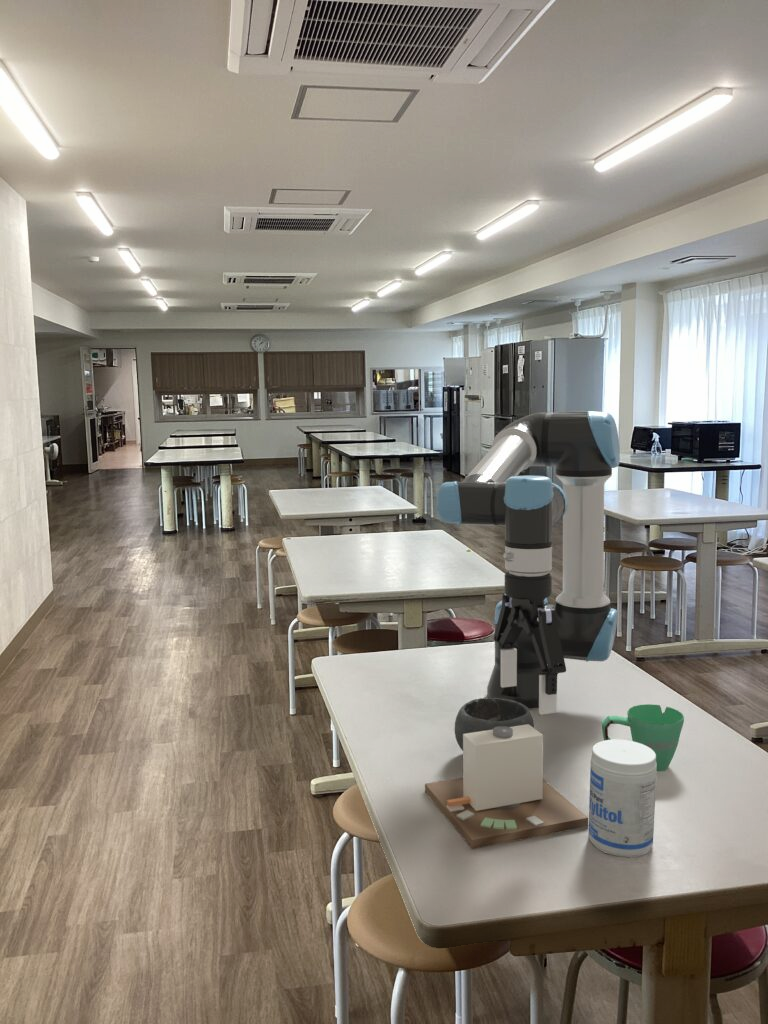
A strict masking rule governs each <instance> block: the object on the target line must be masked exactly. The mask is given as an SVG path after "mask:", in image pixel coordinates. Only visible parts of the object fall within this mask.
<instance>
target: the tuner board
mask: <svg viewBox="0 0 768 1024" xmlns="http://www.w3.org/2000/svg"><path fill="white" fill-rule="evenodd" d="M424 792H425V794H426V795H427V796H428V797H429V798H430V800H431V802H433V804H434V805H435V806H436V807H437V808H438V809H439V811H440V812H441V813H442V814H443V815H444V817H445V818H446V819H447V820H448V822H449V823H450V824H451V825H452V826H453V828H454V829H455V831H456V832H458V834H459V835H460V836H461V838H462V839H463V840H464V841H465V842H466V844H467V845H468V846H469V847H470V848H471V850H475V849H481V848H484V847H491V846H495V845H496V846H497V845H500V844H502V845H503V844H507V843H511V842H515V841H521V840H526V839H532V838H536V837H542V836H547V835H551V834H556V833H562V832H568V831H573V830H577V829H578V830H579V829H583V828H589V816H587V815H586V814H585V813H583V811H581V809H579V808H578V807H577V806H576V805H574V804H573V803H572V802H570V800H568V799H567V798H566V797H565V796H564V795H562V794H561V793H560V792H559V791H558V790H557V789H555V788H554V787H553V786H552V785H551V784H550V783H548V782H547V781H546V780H545V779H544V778H543V799H539V800H534V801H528V802H523V803H517V804H512V805H506V806H501V807H495V808H490V809H484V810H479V811H475V809H474V808H473V807H472V806H471V805H470V804H469V803H467V804H462V806H463V807H464V809H463V810H457V811H452V812H450V811H449V809H448V808H447V800H451V799H457V798H462V797H463V776H462V777H457V778H452V779H451V778H450V779H444V780H439V781H432V782H427V783H424ZM466 810H468V811H470V812H472V813H474V816H472V817H470V818H468V819H465V820H462V819H460V818H458V817H457V814H459V813H462V812H464V811H466ZM531 816H536V817H537V818H539V819H540V820H542V821H543V822H544V824H542V825H539V826H534V825H533V824H532V823H530V822H529V821H527V820H526V818H528V817H531ZM485 817H486V818H491V819H499V820H515V823H516V826H517V829H508V830H507V829H506V826H505V824H504V829H493V826H494V823H493V825H492V827H491V828H487V827H482V826H481V823H482V821H483V820H484V818H485Z"/></svg>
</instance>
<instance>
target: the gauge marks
mask: <svg viewBox="0 0 768 1024" xmlns="http://www.w3.org/2000/svg"><path fill="white" fill-rule="evenodd" d="M447 808H448V809H449V811H450V812H452V811H457V810H463V809H464V807H463V806H462V805H456V806H451V807H449V806H448V805H447ZM472 816H474V813H472V812H470V811H468V810H466V811H464V812H462V813H459V814H457V817H458V818H460V819H462V820H465V819H468V818H470V817H472ZM526 820H527V821H529V822H530V823H532V824H533V825H534V826H539V825H542V824H544V822H543V821H542V820H540V819H539V818H537V817H536V816H531V817H528V818H526ZM493 823H494V826H493V829H504V824H505V826H506V829H507V830H508V829H517V826H516V823H515V820H499V819H491V818H486V817H485V818H484V820H483V821H482V823H481V826H482V827H487V828H491V827H492V825H493Z"/></svg>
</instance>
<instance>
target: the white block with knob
mask: <svg viewBox="0 0 768 1024" xmlns="http://www.w3.org/2000/svg"><path fill="white" fill-rule="evenodd" d="M543 758H544V735H543V734H542V733H541V732H540V731H538V730H537V729H536V728H535V727H534V728H533V727H532V726H530V725H529V724H526V725H520V726H513V727H506V726H498V727H495V728H493V730H486V731H480V732H473V733H466V734H463V751H462V761H463V762H462V765H463V766H462V767H463V769H462V770H463V772H462V773H463V774H462V775H463V776H462V777H463V797H462V798H457V799H451V800H447V805H448V806H449V807H451V806H456V805H462V804H467V803H469V804H470V805H471V806H472V807H473V808H474V809H475V811H479V810H484V809H490V808H495V807H501V806H506V805H512V804H517V803H523V802H528V801H534V800H539V799H543V779H544V778H543V776H544V773H543V771H544V769H543V768H544V767H543V766H544V764H543V762H544V759H543Z"/></svg>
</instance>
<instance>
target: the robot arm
mask: <svg viewBox="0 0 768 1024" xmlns="http://www.w3.org/2000/svg"><path fill="white" fill-rule="evenodd" d="M490 448H491V449H489V451H488V452H486V454H485V455H484V456H483V457H482V458H481V460H480V461H479V462H478V463H477V464H476V466H474V468H473V469H472V470H471V471H470V472H469V473H468V475H467V476H465V478H464V479H463V480H462V481H457V480H454V481H445V482H443V483H442V484H440V486H439V488H438V490H437V495H436V511H437V515H438V518H439V520H440V521H442V522H443V523H445V524H455V525H459V526H461V525H467V526H468V525H469V526H470V525H471V526H501V527H504V553H503V559H504V569H506V570H507V572H505V573H504V593H503V594H502V596H501V600H500V601H498V603H497V604H496V606H495V609H494V611H495V612H494V619H493V624H494V636H493V640H494V665H493V668H492V670H491V675H490V676H489V681H488V684H487V686H486V698H499V699H508V700H513V701H516V702H519V703H521V704H523V705H525V706H526V707H527V708H528V709H529V710H531V709H532V710H533V709H538V714H540V715H547V714H554V713H557V712H558V711H557V709H558V708H557V707H558V705H557V702H558V701H557V700H558V697H557V696H558V674H561V673H562V674H563V673H566V672H567V667H566V661H565V660H566V659H568V660H576V661H584V662H605V661H606V660H608V659H609V658H610V656H611V653H612V649H613V646H614V642H615V638H616V631H617V626H618V615H619V612H618V610H617V609H615V608H611V600H610V598H609V597H608V596H607V595H606V594H605V593H604V541H605V540H604V539H605V537H604V536H605V534H604V533H605V531H604V530H605V527H604V526H605V524H604V523H605V483H606V482H607V481H608V480H609V479H610V478H611V477H612V474H613V472H612V471H613V469H615V468H618V467H619V465H620V463H621V462H620V461H621V458H620V457H621V455H620V453H621V451H620V450H621V449H620V439H619V432H618V427H617V424H616V421H615V418H614V417H613V415H612V414H610V413H609V412H606V411H593V410H588V411H587V410H586V411H553V412H551V411H550V412H549V411H542V412H541V411H539V412H536V413H535V412H534V413H531V414H528V415H525V416H523V417H521V418H519V419H516V420H514V421H512V422H511V423H509V424H508V425H506V426H504V428H502V429H501V430H500V431H499V432H498V433H497V434H496V435H495V436H494V438H493V440H492V444H491V447H490ZM530 467H555V476H556V478H558V479H559V481H561V483H562V487H561V486H559V485H558V484H556V483H554V482H553V481H552V479H551V478H550V477H548V476H544V475H520V473H521V472H522V471H525V470H527V469H529V468H530ZM561 520H562V591H561V592H560V593H559V594H558V595H557V596H556V597H555V604H553V603H551V604H550V603H549V601H548V599H547V598H549V597H550V596H552V588H553V587H552V586H553V585H552V584H553V583H552V581H553V580H552V579H553V577H552V576H553V575H552V574H551V572H550V571H551V570H553V538H552V537H553V526H555V525H557V524H558V523H559V522H560V521H561Z"/></svg>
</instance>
